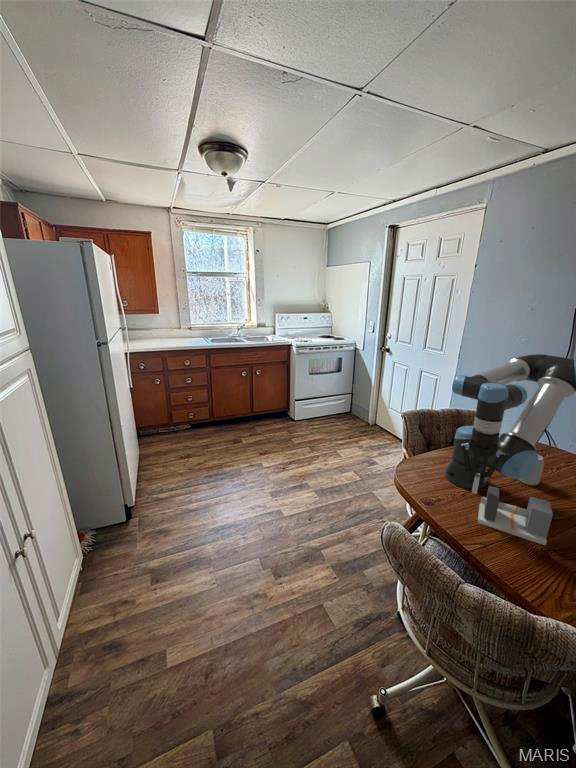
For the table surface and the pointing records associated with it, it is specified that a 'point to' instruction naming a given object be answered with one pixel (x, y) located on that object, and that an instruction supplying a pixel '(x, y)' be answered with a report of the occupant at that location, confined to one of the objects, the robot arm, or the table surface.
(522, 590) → the table surface
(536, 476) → the can
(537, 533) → the rod stand
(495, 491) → the collar
